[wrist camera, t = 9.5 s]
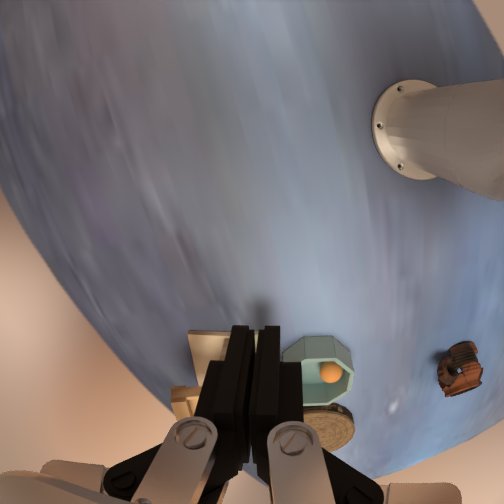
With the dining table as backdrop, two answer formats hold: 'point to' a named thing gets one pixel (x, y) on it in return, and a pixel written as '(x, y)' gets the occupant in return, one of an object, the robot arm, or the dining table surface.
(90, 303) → the dining table surface
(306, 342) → the green octagonal bowl
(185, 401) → the lever
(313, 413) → the wood log slice
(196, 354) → the frame
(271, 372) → the robot arm
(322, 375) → the ball
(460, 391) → the pottery mug
